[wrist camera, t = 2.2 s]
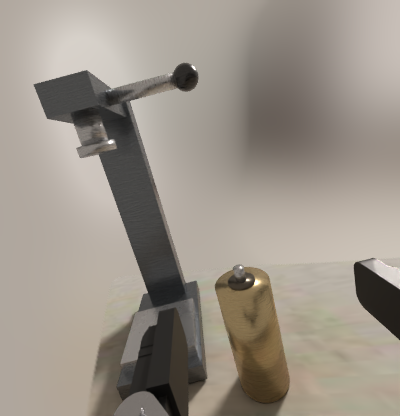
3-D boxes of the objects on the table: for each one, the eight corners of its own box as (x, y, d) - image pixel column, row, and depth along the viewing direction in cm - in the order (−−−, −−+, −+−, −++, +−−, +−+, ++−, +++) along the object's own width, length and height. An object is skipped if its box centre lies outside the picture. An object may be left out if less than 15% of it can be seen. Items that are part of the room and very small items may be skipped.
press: (272, 361, 28) (197, 24, 19) (122, 400, 28) (-21, 83, 19) (239, 279, 45) (192, 81, 36) (146, 303, 45) (76, 112, 36)
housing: (262, 348, 30) (239, 249, 26) (300, 377, 25) (278, 262, 22) (230, 377, 27) (200, 272, 24) (266, 414, 23) (235, 292, 19)
